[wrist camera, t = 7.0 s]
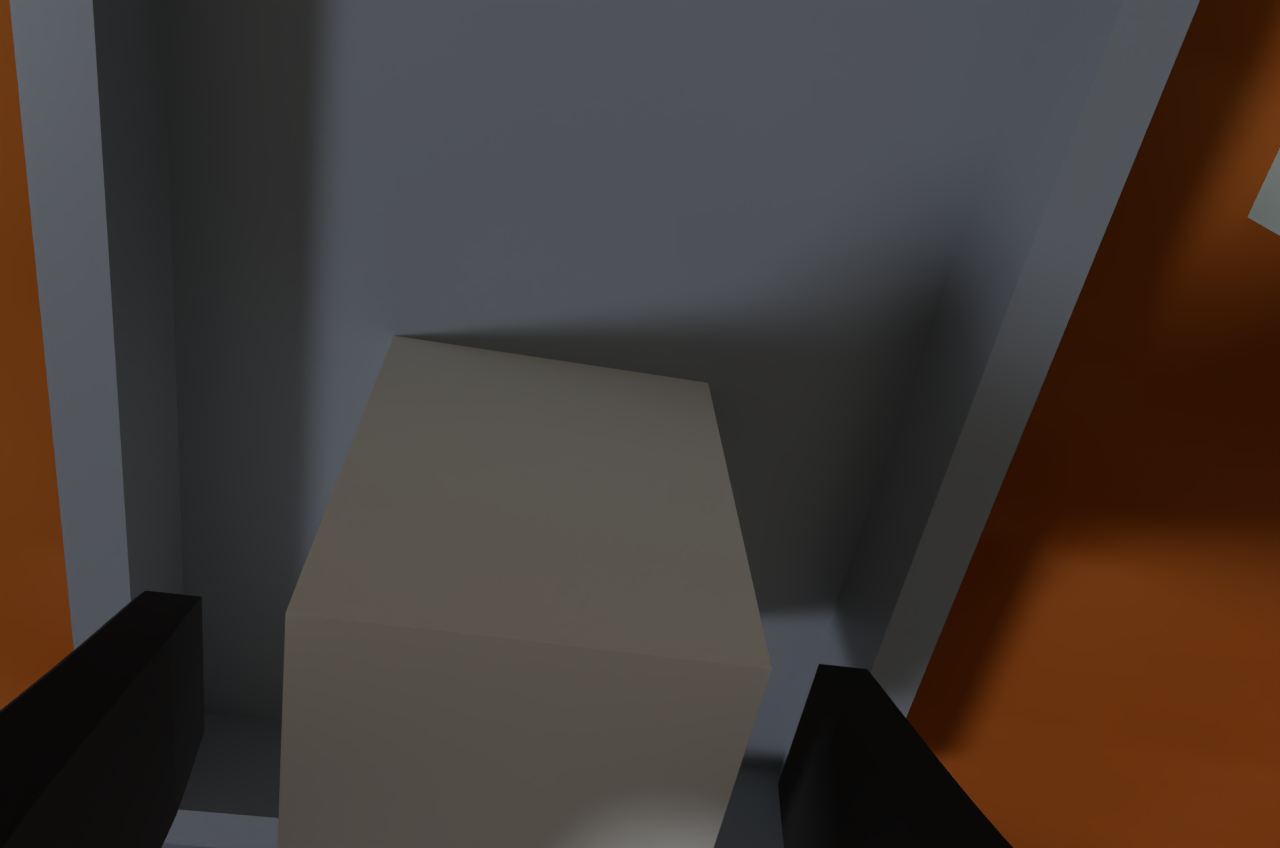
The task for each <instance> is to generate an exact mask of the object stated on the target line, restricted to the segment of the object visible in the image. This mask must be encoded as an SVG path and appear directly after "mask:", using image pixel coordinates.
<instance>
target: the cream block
mask: <svg viewBox="0 0 1280 848" xmlns="http://www.w3.org/2000/svg"><path fill="white" fill-rule="evenodd" d="M771 670H772V667H771V662H770V658H769V653H768V649H767V644H766V640H765V635H764V631H763V627H762V622H761V618H760V613H759V609H758V604H757V600H756V595H755V591H754V586H753V582H752V577H751V573H750V568H749V564H748V559H747V555H746V550H745V546H744V542H743V537H742V533H741V528H740V524H739V519H738V515H737V510H736V506H735V501H734V497H733V492H732V488H731V483H730V479H729V474H728V470H727V465H726V461H725V456H724V452H723V448H722V443H721V439H720V434H719V430H718V425H717V421H716V416H715V412H714V407H713V403H712V398H711V394H710V389H709V385H708V383H706V382H700V381H693V380H686V379H680V378H673V377H666V376H660V375H653V374H646V373H640V372H633V371H626V370H620V369H613V368H606V367H600V366H593V365H586V364H580V363H573V362H567V361H560V360H553V359H547V358H540V357H533V356H527V355H520V354H513V353H507V352H500V351H493V350H487V349H480V348H473V347H467V346H460V345H453V344H447V343H440V342H433V341H427V340H420V339H413V338H407V337H400V336H393V338H392V341H391V343H390V346H389V348H388V351H387V354H386V356H385V359H384V361H383V364H382V366H381V369H380V371H379V374H378V377H377V379H376V382H375V384H374V387H373V389H372V392H371V395H370V397H369V400H368V402H367V405H366V407H365V410H364V413H363V415H362V418H361V420H360V423H359V425H358V428H357V431H356V433H355V436H354V438H353V441H352V443H351V446H350V449H349V451H348V454H347V456H346V459H345V461H344V464H343V467H342V469H341V472H340V474H339V477H338V479H337V482H336V485H335V487H334V490H333V492H332V495H331V497H330V500H329V503H328V505H327V508H326V510H325V513H324V515H323V518H322V520H321V523H320V526H319V528H318V531H317V533H316V536H315V538H314V541H313V544H312V546H311V549H310V551H309V554H308V556H307V559H306V562H305V564H304V567H303V569H302V572H301V574H300V577H299V580H298V582H297V585H296V587H295V590H294V592H293V595H292V598H291V600H290V603H289V605H288V608H287V610H286V614H285V643H284V673H283V702H282V731H281V761H280V790H279V819H278V848H714V845H715V842H716V839H717V836H718V833H719V830H720V827H721V824H722V821H723V818H724V814H725V811H726V808H727V805H728V802H729V799H730V796H731V793H732V790H733V787H734V784H735V781H736V778H737V775H738V772H739V768H740V765H741V762H742V759H743V756H744V753H745V750H746V747H747V744H748V741H749V738H750V735H751V732H752V729H753V725H754V722H755V719H756V716H757V713H758V710H759V707H760V704H761V701H762V698H763V695H764V692H765V689H766V686H767V683H768V679H769V676H770V673H771Z"/></svg>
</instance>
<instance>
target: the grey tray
mask: <svg viewBox="0 0 1280 848" xmlns="http://www.w3.org/2000/svg"><path fill="white" fill-rule="evenodd" d="M1199 1H1200V0H10V9H11V19H12V29H13V40H14V50H15V60H16V70H17V80H18V90H19V100H20V110H21V120H22V130H23V140H24V150H25V161H26V171H27V181H28V191H29V201H30V211H31V221H32V231H33V241H34V251H35V261H36V272H37V282H38V292H39V302H40V312H41V322H42V332H43V342H44V352H45V362H46V372H47V382H48V393H49V403H50V413H51V423H52V433H53V443H54V453H55V463H56V473H57V483H58V493H59V504H60V514H61V524H62V534H63V544H64V554H65V564H66V574H67V584H68V594H69V604H70V614H71V625H72V635H73V645H74V650H75V649H76V648H77V647H78V646H80V645H81V644H82V643H83V642H84V641H85V640H87V639H88V638H89V637H90V636H91V635H92V634H94V633H95V632H96V631H97V630H98V629H99V628H101V627H102V626H103V625H104V624H105V623H106V622H107V621H109V620H110V619H111V618H112V617H113V616H114V615H115V614H117V613H118V612H119V611H120V610H121V609H122V608H124V607H125V606H126V605H127V604H128V603H129V602H131V601H132V600H133V599H134V598H135V597H137V596H138V595H140V594H141V593H143V592H144V591H154V592H164V593H173V594H182V595H191V596H200V597H202V631H203V680H204V729H205V731H204V734H203V737H202V740H201V743H200V746H199V749H198V752H197V755H196V759H195V762H194V765H193V768H192V771H191V774H190V777H189V780H188V783H187V786H186V789H185V792H184V795H183V797H182V800H181V803H180V806H179V809H178V812H177V815H176V817H175V819H174V822H173V824H172V826H171V828H170V830H169V833H168V835H167V837H166V839H165V841H164V843H167V844H179V845H191V846H203V847H215V848H278V819H279V790H280V761H281V731H282V702H283V673H284V643H285V614H286V610H287V608H288V605H289V603H290V600H291V598H292V595H293V592H294V590H295V587H296V585H297V582H298V580H299V577H300V574H301V572H302V569H303V567H304V564H305V562H306V559H307V556H308V554H309V551H310V549H311V546H312V544H313V541H314V538H315V536H316V533H317V531H318V528H319V526H320V523H321V520H322V518H323V515H324V513H325V510H326V508H327V505H328V503H329V500H330V497H331V495H332V492H333V490H334V487H335V485H336V482H337V479H338V477H339V474H340V472H341V469H342V467H343V464H344V461H345V459H346V456H347V454H348V451H349V449H350V446H351V443H352V441H353V438H354V436H355V433H356V431H357V428H358V425H359V423H360V420H361V418H362V415H363V413H364V410H365V407H366V405H367V402H368V400H369V397H370V395H371V392H372V389H373V387H374V384H375V382H376V379H377V377H378V374H379V371H380V369H381V366H382V364H383V361H384V359H385V356H386V354H387V351H388V348H389V346H390V343H391V341H392V338H393V336H400V337H407V338H413V339H420V340H427V341H433V342H440V343H447V344H453V345H460V346H467V347H473V348H480V349H487V350H493V351H500V352H507V353H513V354H520V355H527V356H533V357H540V358H547V359H553V360H560V361H567V362H573V363H580V364H586V365H593V366H600V367H606V368H613V369H620V370H626V371H633V372H640V373H646V374H653V375H660V376H666V377H673V378H680V379H686V380H693V381H700V382H706V383H708V385H709V389H710V394H711V398H712V403H713V407H714V412H715V416H716V421H717V425H718V430H719V434H720V439H721V443H722V448H723V452H724V456H725V461H726V465H727V470H728V474H729V479H730V483H731V488H732V492H733V497H734V501H735V506H736V510H737V515H738V519H739V524H740V528H741V533H742V537H743V542H744V546H745V550H746V555H747V559H748V564H749V568H750V573H751V577H752V582H753V586H754V591H755V595H756V600H757V604H758V609H759V613H760V618H761V622H762V627H763V631H764V635H765V640H766V644H767V649H768V653H769V658H770V662H771V667H772V670H771V673H770V676H769V679H768V683H767V686H766V689H765V692H764V695H763V698H762V701H761V704H760V707H759V710H758V713H757V716H756V719H755V722H754V725H753V729H752V732H751V735H750V738H749V741H748V744H747V747H746V750H745V753H744V756H743V759H742V762H741V765H740V768H739V772H738V775H737V778H736V781H735V784H734V787H733V790H732V793H731V796H730V799H729V802H728V805H727V808H726V811H725V814H724V818H723V821H722V824H721V827H720V830H719V833H718V836H717V839H716V842H715V845H714V848H784V841H783V833H782V823H781V812H780V801H779V790H778V782H779V779H780V776H781V773H782V770H783V768H784V765H785V762H786V759H787V756H788V753H789V750H790V747H791V744H792V741H793V738H794V735H795V732H796V729H797V727H798V724H799V721H800V718H801V715H802V712H803V709H804V706H805V703H806V700H807V697H808V694H809V691H810V688H811V685H812V683H813V680H814V677H815V674H816V671H817V668H818V665H819V664H826V665H835V666H844V667H853V668H863V669H868V671H869V672H870V673H871V674H872V676H873V677H874V678H875V679H876V680H877V682H878V683H879V684H880V685H881V687H882V688H883V689H884V691H885V692H886V693H887V694H888V696H889V697H890V698H891V700H892V701H893V702H894V703H895V705H896V706H897V707H898V709H899V710H900V711H901V712H902V714H903V715H904V716H905V718H906V717H907V714H908V712H909V710H910V707H911V705H912V702H913V700H914V697H915V695H916V692H917V690H918V688H919V685H920V683H921V680H922V678H923V675H924V673H925V670H926V668H927V666H928V663H929V661H930V658H931V656H932V653H933V651H934V648H935V646H936V644H937V641H938V639H939V636H940V634H941V631H942V629H943V626H944V624H945V622H946V619H947V617H948V614H949V612H950V609H951V607H952V605H953V602H954V600H955V597H956V595H957V592H958V590H959V587H960V585H961V583H962V580H963V578H964V575H965V573H966V570H967V568H968V565H969V563H970V561H971V558H972V556H973V553H974V551H975V548H976V546H977V543H978V541H979V539H980V536H981V534H982V531H983V529H984V526H985V524H986V521H987V519H988V517H989V514H990V512H991V509H992V507H993V504H994V502H995V500H996V497H997V495H998V492H999V490H1000V487H1001V485H1002V482H1003V480H1004V478H1005V475H1006V473H1007V470H1008V468H1009V465H1010V463H1011V460H1012V458H1013V456H1014V453H1015V451H1016V448H1017V446H1018V443H1019V441H1020V438H1021V436H1022V434H1023V431H1024V429H1025V426H1026V424H1027V421H1028V419H1029V416H1030V414H1031V412H1032V409H1033V407H1034V404H1035V402H1036V399H1037V397H1038V395H1039V392H1040V390H1041V387H1042V385H1043V382H1044V380H1045V377H1046V375H1047V373H1048V370H1049V368H1050V365H1051V363H1052V360H1053V358H1054V355H1055V353H1056V351H1057V348H1058V346H1059V343H1060V341H1061V338H1062V336H1063V333H1064V331H1065V329H1066V326H1067V324H1068V321H1069V319H1070V316H1071V314H1072V311H1073V309H1074V307H1075V304H1076V302H1077V299H1078V297H1079V294H1080V292H1081V290H1082V287H1083V285H1084V282H1085V280H1086V277H1087V275H1088V272H1089V270H1090V268H1091V265H1092V263H1093V260H1094V258H1095V255H1096V253H1097V250H1098V248H1099V246H1100V243H1101V241H1102V238H1103V236H1104V233H1105V231H1106V228H1107V226H1108V224H1109V221H1110V219H1111V216H1112V214H1113V211H1114V209H1115V206H1116V204H1117V202H1118V199H1119V197H1120V194H1121V192H1122V189H1123V187H1124V185H1125V182H1126V180H1127V177H1128V175H1129V172H1130V170H1131V167H1132V165H1133V163H1134V160H1135V158H1136V155H1137V153H1138V150H1139V148H1140V145H1141V143H1142V141H1143V138H1144V136H1145V133H1146V131H1147V128H1148V126H1149V123H1150V121H1151V119H1152V116H1153V114H1154V111H1155V109H1156V106H1157V104H1158V102H1159V99H1160V97H1161V94H1162V92H1163V89H1164V87H1165V84H1166V82H1167V80H1168V77H1169V75H1170V72H1171V70H1172V67H1173V65H1174V62H1175V60H1176V58H1177V55H1178V53H1179V50H1180V48H1181V45H1182V43H1183V40H1184V38H1185V36H1186V33H1187V31H1188V28H1189V26H1190V23H1191V21H1192V18H1193V16H1194V14H1195V11H1196V9H1197V6H1198V4H1199Z"/></svg>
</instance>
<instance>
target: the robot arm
mask: <svg viewBox="0 0 1280 848" xmlns="http://www.w3.org/2000/svg"><path fill="white" fill-rule="evenodd" d="M204 731H205V729H204V680H203V631H202V597H200V596H191V595H182V594H173V593H164V592H154V591H144V592H143V593H141V594H140V595H138V596H137V597H135V598H134V599H133V600H132V601H131V602H129V603H128V604H127V605H126V606H125V607H124V608H122V609H121V610H120V611H119V612H118V613H117V614H115V615H114V616H113V617H112V618H111V619H110V620H109V621H107V622H106V623H105V624H104V625H103V626H102V627H101V628H99V629H98V630H97V631H96V632H95V633H94V634H92V635H91V636H90V637H89V638H88V639H87V640H85V641H84V642H83V643H82V644H81V645H80V646H78V647H77V648H76V649H75V650H74V651H73V652H71V653H70V654H69V655H68V656H67V657H65V658H64V659H63V660H62V661H61V662H59V663H58V664H57V665H56V666H55V667H54V668H52V669H51V670H50V671H49V672H48V673H46V674H45V675H44V676H43V677H41V678H40V679H39V680H38V681H36V682H35V683H34V684H33V685H31V686H30V687H29V688H28V689H26V690H25V691H24V692H23V693H21V694H20V695H19V696H18V697H17V698H15V699H14V700H13V701H12V702H10V703H9V704H8V705H7V706H5V707H4V708H3V709H2V710H0V848H215V847H203V846H191V845H179V844H167V843H164V841H165V839H166V837H167V835H168V833H169V830H170V828H171V826H172V824H173V822H174V819H175V817H176V815H177V812H178V809H179V806H180V803H181V800H182V797H183V795H184V792H185V789H186V786H187V783H188V780H189V777H190V774H191V771H192V768H193V765H194V762H195V759H196V755H197V752H198V749H199V746H200V743H201V740H202V737H203V734H204ZM778 790H779V801H780V812H781V823H782V833H783V841H784V848H1013V847H1012V846H1011V845H1010V844H1009V843H1008V842H1007V841H1006V839H1005V838H1004V837H1003V836H1002V835H1001V834H1000V833H999V831H998V830H997V829H996V828H995V827H994V826H993V825H992V823H991V822H990V821H989V820H988V819H987V818H986V817H985V815H984V814H983V813H982V812H981V811H980V810H979V808H978V807H977V806H976V805H975V804H974V802H973V801H972V800H971V799H970V798H969V796H968V795H967V794H966V793H965V792H964V790H963V789H962V788H961V787H960V786H959V784H958V783H957V782H956V781H955V779H954V778H953V777H952V776H951V775H950V773H949V772H948V771H947V770H946V768H945V767H944V766H943V765H942V763H941V762H940V761H939V760H938V758H937V757H936V756H935V755H934V753H933V752H932V751H931V750H930V748H929V747H928V746H927V744H926V743H925V742H924V741H923V739H922V738H921V737H920V736H919V734H918V733H917V732H916V730H915V729H914V728H913V727H912V725H911V724H910V723H909V721H908V720H907V719H906V718H905V716H904V715H903V714H902V712H901V711H900V710H899V709H898V707H897V706H896V705H895V703H894V702H893V701H892V700H891V698H890V697H889V696H888V694H887V693H886V692H885V691H884V689H883V688H882V687H881V685H880V684H879V683H878V682H877V680H876V679H875V678H874V677H873V676H872V674H871V673H870V672H869V671H868V669H863V668H853V667H844V666H835V665H826V664H819V665H818V668H817V671H816V674H815V677H814V680H813V683H812V685H811V688H810V691H809V694H808V697H807V700H806V703H805V706H804V709H803V712H802V715H801V718H800V721H799V724H798V727H797V729H796V732H795V735H794V738H793V741H792V744H791V747H790V750H789V753H788V756H787V759H786V762H785V765H784V768H783V770H782V773H781V776H780V779H779V782H778Z"/></svg>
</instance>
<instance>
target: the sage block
mask: <svg viewBox="0 0 1280 848" xmlns="http://www.w3.org/2000/svg"><path fill="white" fill-rule="evenodd" d="M1248 218H1250V219H1251V220H1253V221H1255V222H1257V223H1258V224H1260V225H1262V226H1264V227H1265V228H1267V229H1269V230H1271V231H1273V232H1274V233H1276V234H1278V235H1280V149H1279V151H1278V153H1277V155H1276V157H1275V160H1274V162H1273V164H1272V166H1271V168H1270V170H1269V172H1268V175H1267V177H1266V179H1265V181H1264V183H1263V185H1262V187H1261V189H1260V192H1259V194H1258V196H1257V198H1256V200H1255V202H1254V204H1253V206H1252V209H1251V211H1250V213H1249V215H1248Z"/></svg>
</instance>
